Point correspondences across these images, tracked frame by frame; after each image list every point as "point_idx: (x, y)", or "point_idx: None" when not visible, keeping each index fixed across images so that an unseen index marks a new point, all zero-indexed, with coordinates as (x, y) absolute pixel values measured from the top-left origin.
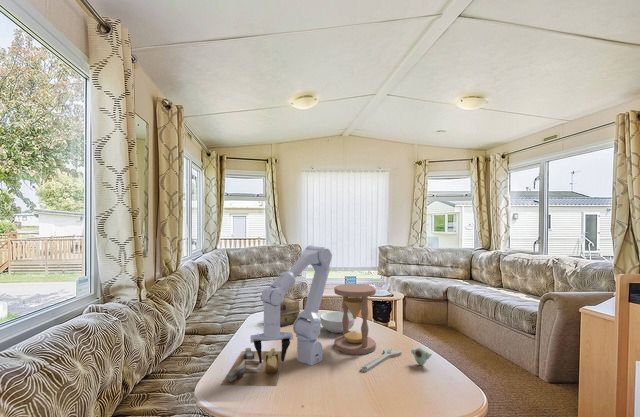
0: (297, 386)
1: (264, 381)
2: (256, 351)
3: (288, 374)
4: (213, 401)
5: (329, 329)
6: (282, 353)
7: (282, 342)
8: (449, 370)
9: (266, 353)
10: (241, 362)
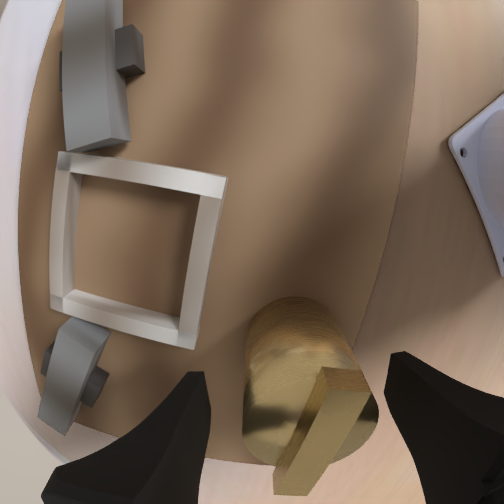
0: (393, 433)
1: (241, 437)
2: None
3: (393, 328)
4: (71, 456)
5: None
6: (410, 437)
7: (457, 499)
8: None
9: (253, 416)
10: (58, 146)
